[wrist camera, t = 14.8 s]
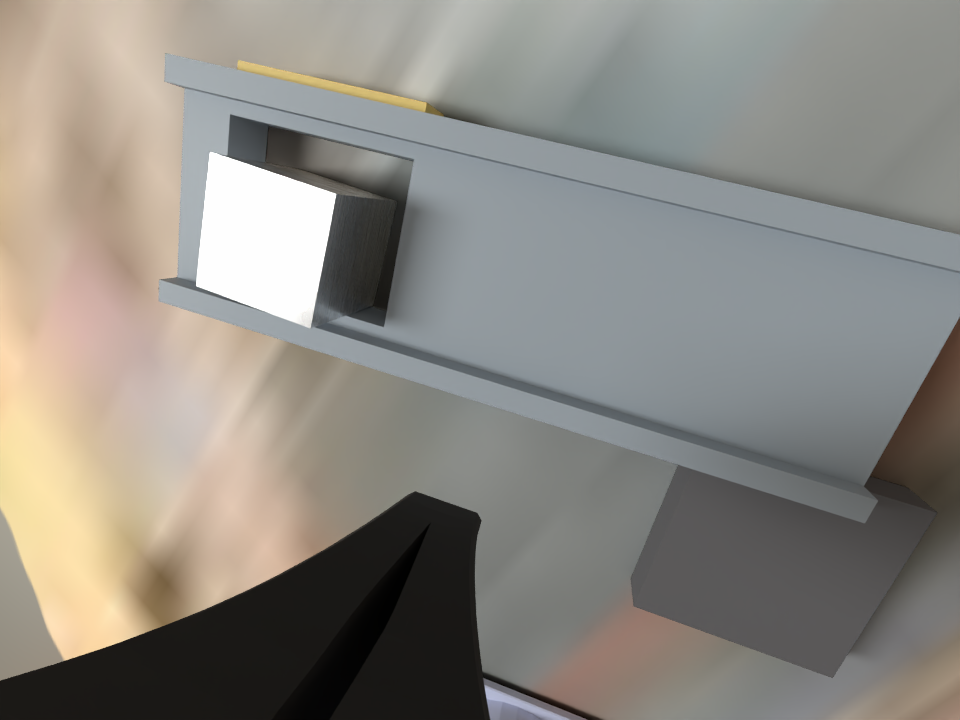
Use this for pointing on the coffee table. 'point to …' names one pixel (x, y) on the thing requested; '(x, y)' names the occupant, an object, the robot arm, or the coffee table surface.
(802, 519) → the pad
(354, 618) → the robot arm
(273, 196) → the block
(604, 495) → the coffee table surface
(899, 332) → the rail
